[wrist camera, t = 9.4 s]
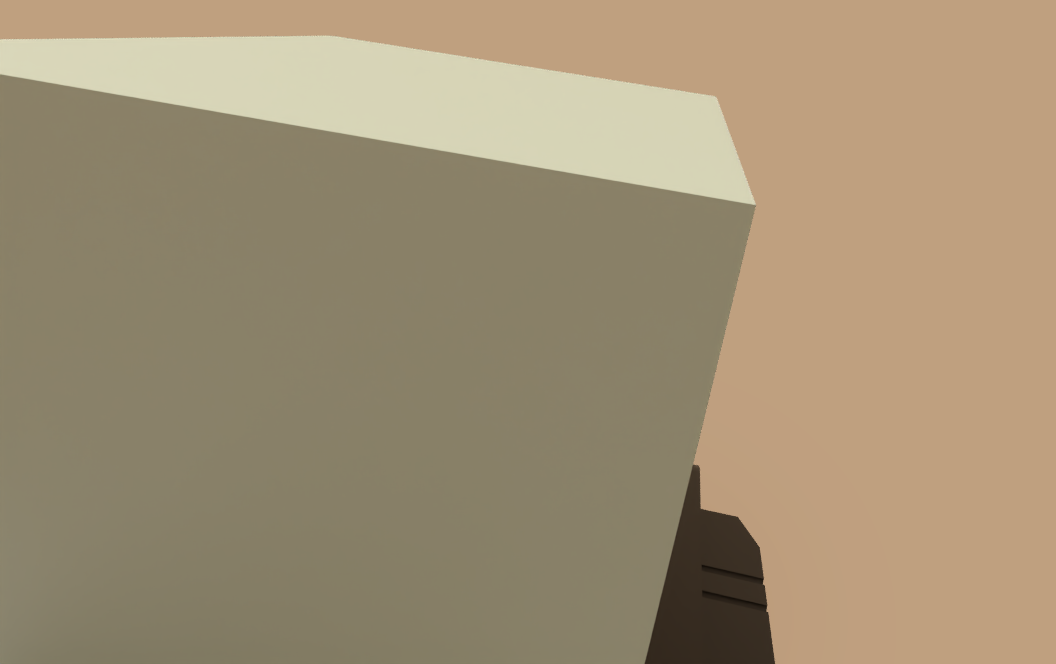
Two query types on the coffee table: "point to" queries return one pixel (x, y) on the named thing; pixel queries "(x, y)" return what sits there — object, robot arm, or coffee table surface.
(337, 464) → the tea box
